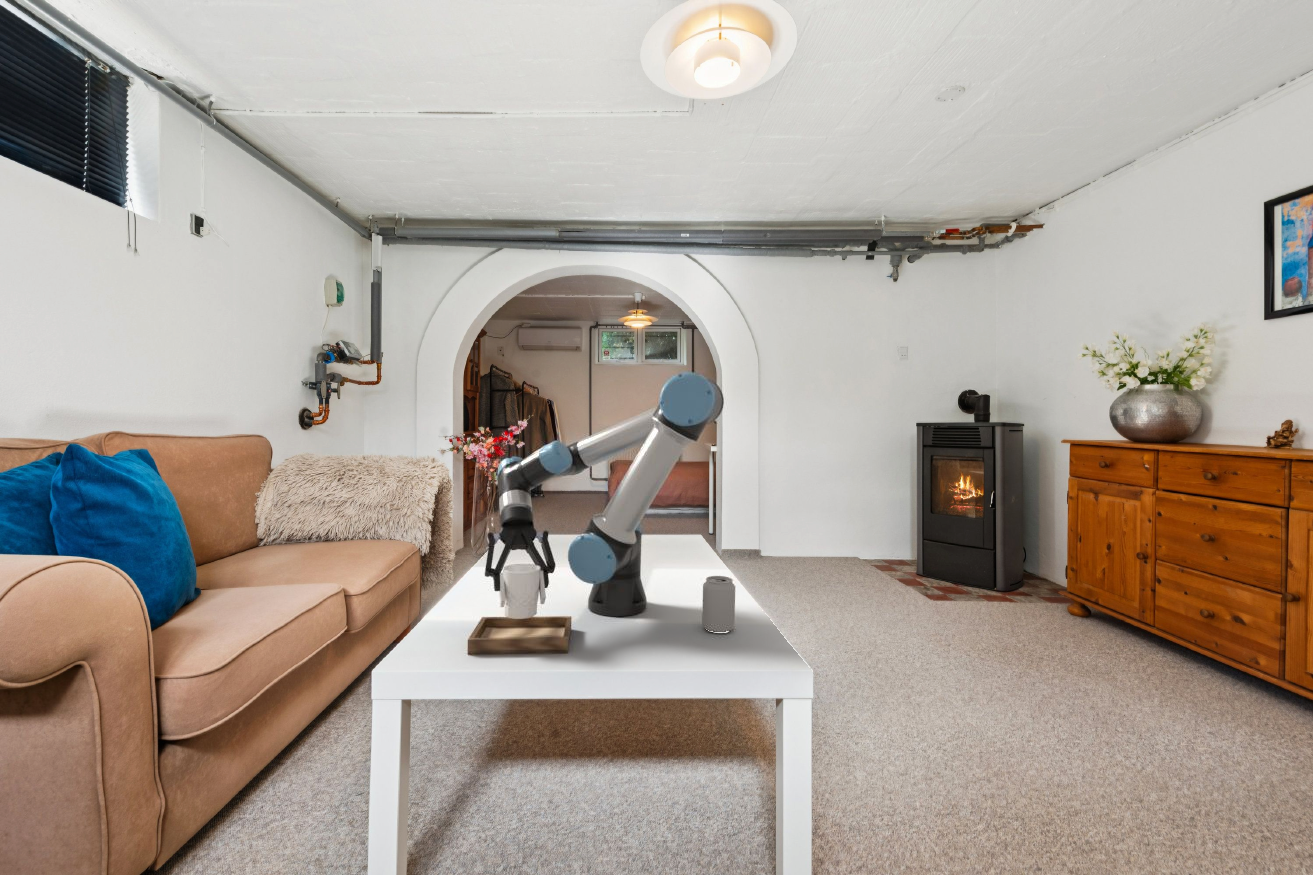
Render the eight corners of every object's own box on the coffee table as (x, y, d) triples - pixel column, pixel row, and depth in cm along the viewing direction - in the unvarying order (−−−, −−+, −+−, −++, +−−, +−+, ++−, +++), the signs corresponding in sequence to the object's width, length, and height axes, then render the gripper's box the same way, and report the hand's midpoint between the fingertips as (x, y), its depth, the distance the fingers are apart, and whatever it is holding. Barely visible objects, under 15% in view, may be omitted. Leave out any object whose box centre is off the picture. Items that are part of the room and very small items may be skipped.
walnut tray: (571, 629, 131) (571, 616, 131) (567, 653, 117) (568, 638, 117) (481, 630, 129) (482, 616, 129) (467, 654, 115) (467, 639, 115)
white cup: (530, 621, 118) (531, 573, 118) (495, 618, 120) (496, 570, 120) (545, 610, 126) (546, 565, 126) (511, 606, 128) (513, 562, 127)
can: (738, 627, 135) (739, 576, 135) (728, 637, 128) (729, 584, 128) (708, 622, 138) (709, 572, 138) (697, 631, 131) (698, 579, 131)
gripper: (557, 522, 141) (568, 607, 126) (469, 524, 133) (471, 614, 119) (561, 503, 136) (574, 589, 121) (471, 505, 128) (473, 596, 114)
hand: (523, 602), depth 120 cm, fingers closed on white cup, 8 cm apart
